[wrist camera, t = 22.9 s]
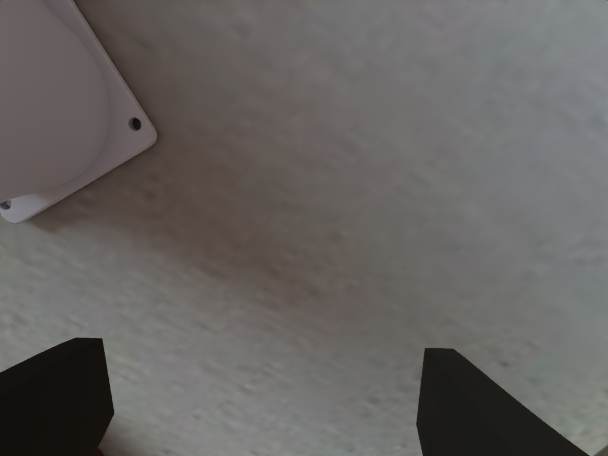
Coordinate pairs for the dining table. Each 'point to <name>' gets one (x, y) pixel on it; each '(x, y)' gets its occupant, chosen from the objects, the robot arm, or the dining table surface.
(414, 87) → the dining table surface
